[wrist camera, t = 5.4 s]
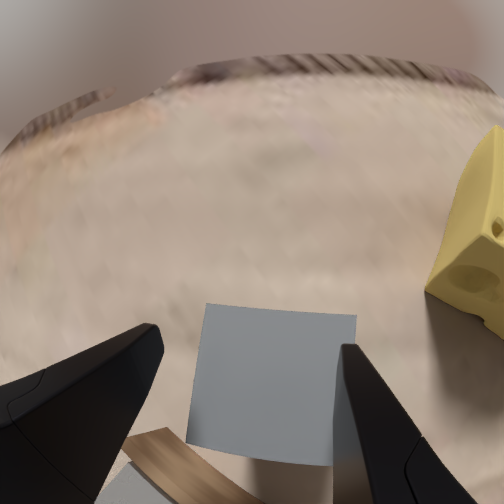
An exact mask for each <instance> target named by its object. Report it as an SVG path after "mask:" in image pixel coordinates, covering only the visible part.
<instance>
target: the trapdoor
mask: <svg viewBox="0 0 504 504" xmlns="http://www.w3.org/2000/svg"><path fill="white" fill-rule="evenodd" d="M94 504H179V503H178V502H177V501H175V500H174V499H173V498H172V497H171V496H170V495H168V494H167V493H166V492H165V491H164V490H163V489H162V488H160V487H159V486H158V485H157V484H156V483H155V482H154V481H153V480H152V479H151V478H150V477H149V476H147V475H146V474H145V473H144V472H143V471H142V470H141V469H140V468H139V467H138V466H137V465H136V464H135V463H134V462H133V461H131V462H128V463H127V464H126V465H125V467H124V468H123V469H122V470H121V471H120V472H119V473H118V475H117V476H116V477H115V478H114V479H113V480H112V481H111V482H110V484H109V485H108V486H107V487H106V488H105V489H104V490H103V491H102V492H101V494H100V495H99V496H98V497H97V499H96V501H95V503H94Z"/></svg>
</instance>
